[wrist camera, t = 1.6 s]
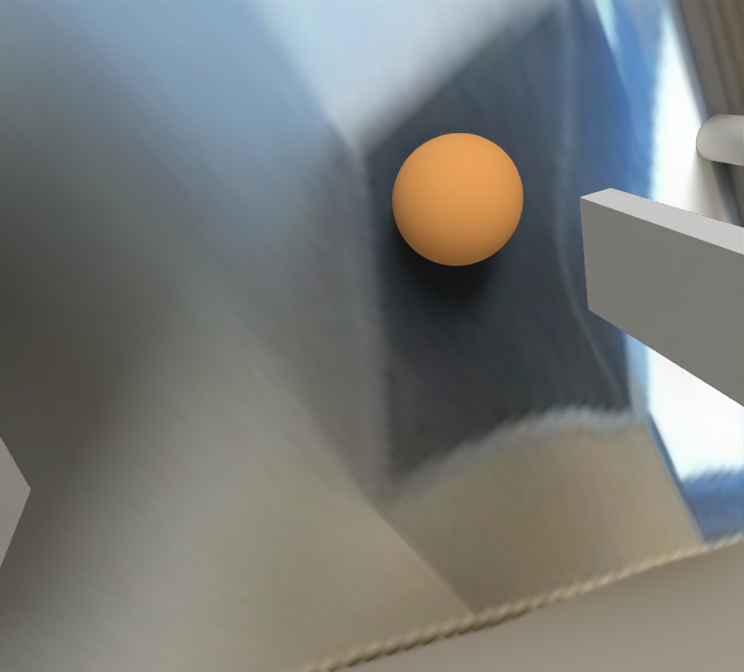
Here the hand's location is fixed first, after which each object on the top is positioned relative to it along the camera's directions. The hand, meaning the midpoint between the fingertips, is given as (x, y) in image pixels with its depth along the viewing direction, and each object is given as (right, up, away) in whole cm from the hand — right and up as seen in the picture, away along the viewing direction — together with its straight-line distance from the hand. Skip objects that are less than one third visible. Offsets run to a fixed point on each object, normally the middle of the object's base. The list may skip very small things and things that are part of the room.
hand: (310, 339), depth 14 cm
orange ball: (+5, +6, +16) cm, 18 cm away
